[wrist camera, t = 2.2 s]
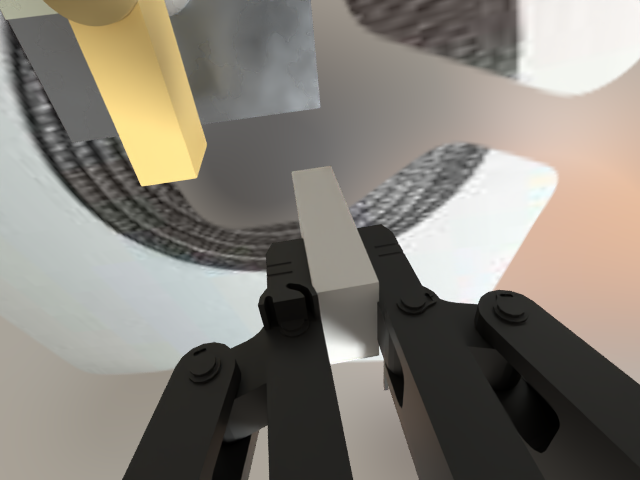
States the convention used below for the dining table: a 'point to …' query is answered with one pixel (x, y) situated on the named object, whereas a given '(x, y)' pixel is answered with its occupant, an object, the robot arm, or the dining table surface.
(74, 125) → the base
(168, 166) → the bar
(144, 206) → the dining table surface
